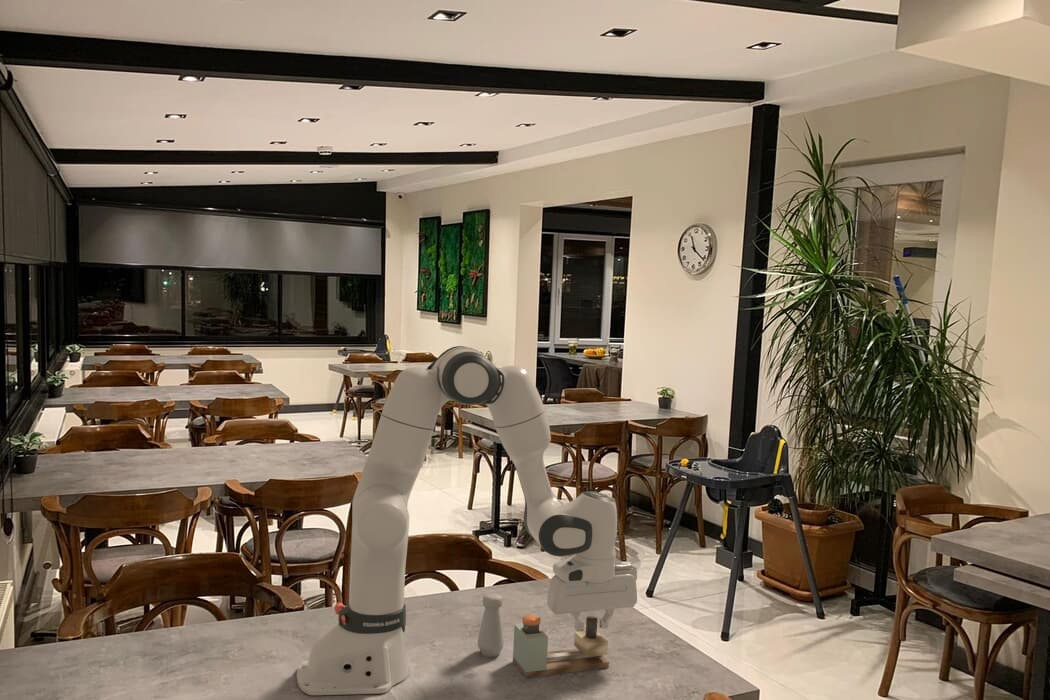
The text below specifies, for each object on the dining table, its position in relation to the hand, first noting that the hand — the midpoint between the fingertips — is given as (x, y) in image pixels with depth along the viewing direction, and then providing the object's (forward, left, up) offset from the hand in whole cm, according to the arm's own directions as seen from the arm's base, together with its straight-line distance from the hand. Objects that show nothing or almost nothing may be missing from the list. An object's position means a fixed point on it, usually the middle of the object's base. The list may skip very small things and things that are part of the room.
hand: (591, 629), depth 178 cm
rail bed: (-7, 0, -7) cm, 10 cm away
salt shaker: (-20, +9, -7) cm, 23 cm away
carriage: (0, 0, -5) cm, 5 cm away
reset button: (-14, 0, -1) cm, 14 cm away
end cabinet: (-14, 0, -6) cm, 15 cm away
